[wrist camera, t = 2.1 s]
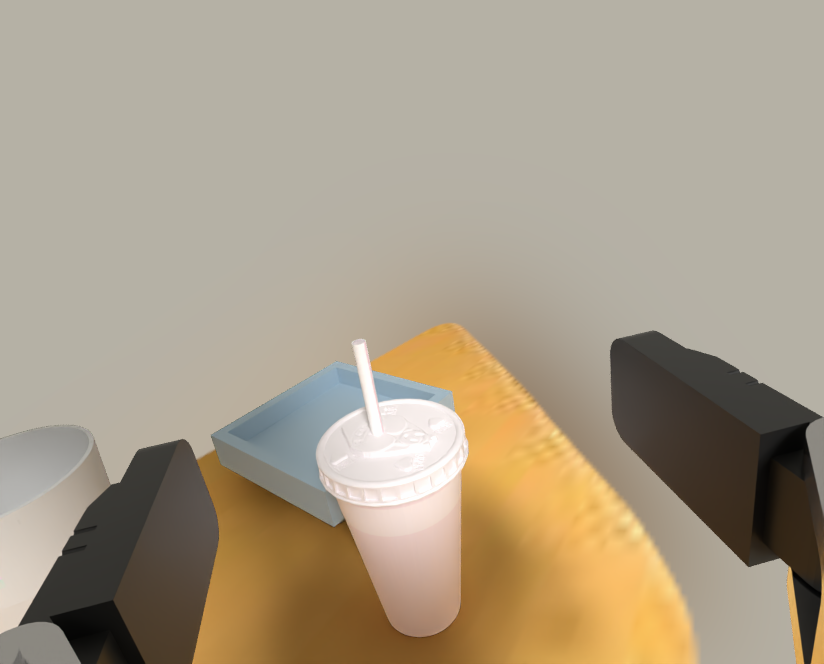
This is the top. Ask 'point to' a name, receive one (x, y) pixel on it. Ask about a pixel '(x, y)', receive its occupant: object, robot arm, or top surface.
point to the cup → (41, 506)
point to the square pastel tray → (306, 433)
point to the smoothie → (401, 500)
